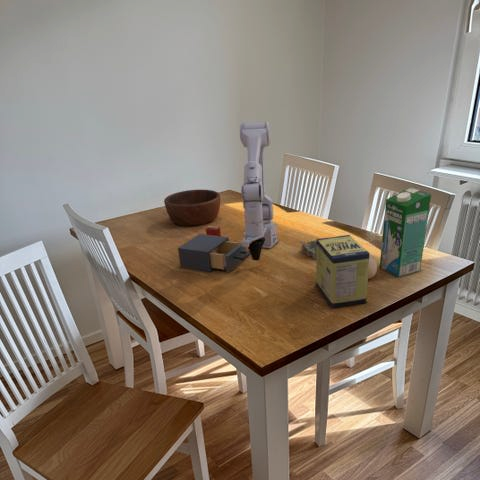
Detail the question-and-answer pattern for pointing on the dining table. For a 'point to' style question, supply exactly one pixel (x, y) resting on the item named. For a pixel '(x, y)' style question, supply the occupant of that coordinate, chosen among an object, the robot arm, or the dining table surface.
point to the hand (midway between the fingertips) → (256, 259)
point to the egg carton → (310, 248)
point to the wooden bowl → (193, 207)
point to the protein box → (342, 270)
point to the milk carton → (404, 231)
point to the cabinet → (199, 251)
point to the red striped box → (213, 231)
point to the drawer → (228, 255)
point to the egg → (372, 267)
